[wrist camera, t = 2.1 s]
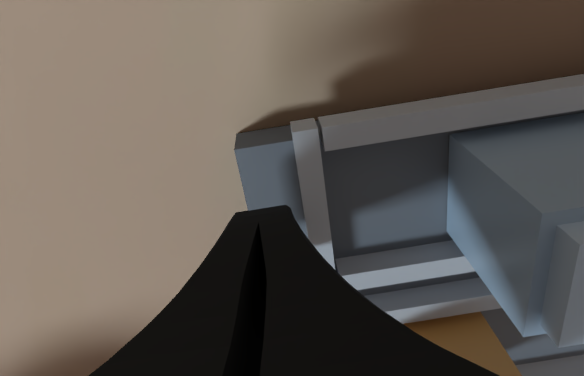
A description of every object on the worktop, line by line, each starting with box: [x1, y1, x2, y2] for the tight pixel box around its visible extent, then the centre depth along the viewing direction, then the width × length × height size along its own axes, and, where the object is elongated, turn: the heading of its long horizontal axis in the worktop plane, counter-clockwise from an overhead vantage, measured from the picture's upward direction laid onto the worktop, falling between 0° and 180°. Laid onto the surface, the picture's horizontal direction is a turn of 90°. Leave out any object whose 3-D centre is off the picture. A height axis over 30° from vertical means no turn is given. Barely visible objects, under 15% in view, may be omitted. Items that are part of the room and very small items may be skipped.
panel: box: [234, 74, 584, 376], centre depth 15 cm, size 18×19×2 cm
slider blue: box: [447, 112, 584, 348], centre depth 9 cm, size 3×4×5 cm
